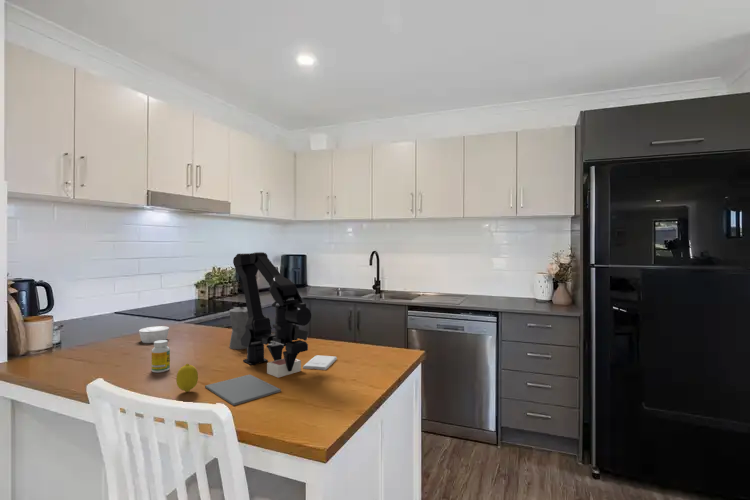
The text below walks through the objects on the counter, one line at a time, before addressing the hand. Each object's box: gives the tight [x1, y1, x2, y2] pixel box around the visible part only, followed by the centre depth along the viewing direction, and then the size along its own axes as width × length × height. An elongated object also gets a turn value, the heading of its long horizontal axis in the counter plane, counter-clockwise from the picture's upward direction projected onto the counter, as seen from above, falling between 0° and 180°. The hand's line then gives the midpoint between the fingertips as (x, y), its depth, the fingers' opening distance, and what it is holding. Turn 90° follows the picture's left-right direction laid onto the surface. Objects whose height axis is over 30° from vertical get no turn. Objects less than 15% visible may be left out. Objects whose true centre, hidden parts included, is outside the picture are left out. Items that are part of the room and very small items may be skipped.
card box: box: [266, 358, 302, 378], centre depth 128 cm, size 6×9×4 cm, turn 139°
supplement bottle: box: [150, 339, 171, 374], centre depth 129 cm, size 5×5×10 cm
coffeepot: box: [229, 302, 248, 350], centre depth 160 cm, size 15×9×18 cm, turn 44°
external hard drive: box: [302, 354, 338, 371], centre depth 137 cm, size 2×8×12 cm
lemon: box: [175, 363, 199, 393], centre depth 110 cm, size 6×6×8 cm
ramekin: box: [138, 325, 170, 344], centre depth 168 cm, size 11×11×5 cm
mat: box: [204, 374, 282, 406], centre depth 112 cm, size 18×14×1 cm
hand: (284, 368), depth 128 cm, fingers closed on card box, 6 cm apart
